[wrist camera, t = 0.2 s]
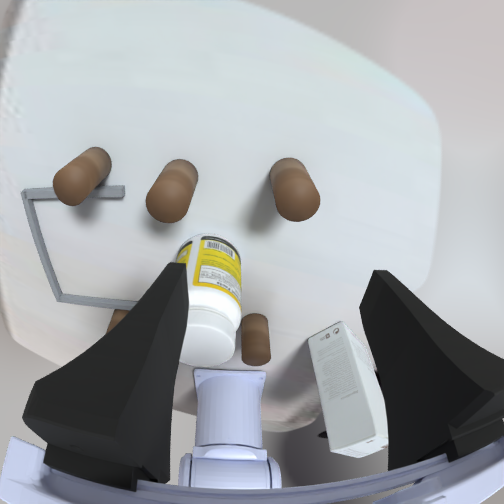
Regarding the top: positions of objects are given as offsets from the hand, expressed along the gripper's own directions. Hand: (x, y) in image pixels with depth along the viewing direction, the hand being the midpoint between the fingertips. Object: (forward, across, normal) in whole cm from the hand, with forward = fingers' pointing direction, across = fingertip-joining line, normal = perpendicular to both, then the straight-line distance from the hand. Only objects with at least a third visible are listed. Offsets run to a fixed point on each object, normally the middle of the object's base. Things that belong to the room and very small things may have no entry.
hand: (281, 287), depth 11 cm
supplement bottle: (+10, +4, +6) cm, 13 cm away
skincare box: (+10, -9, +16) cm, 21 cm away
